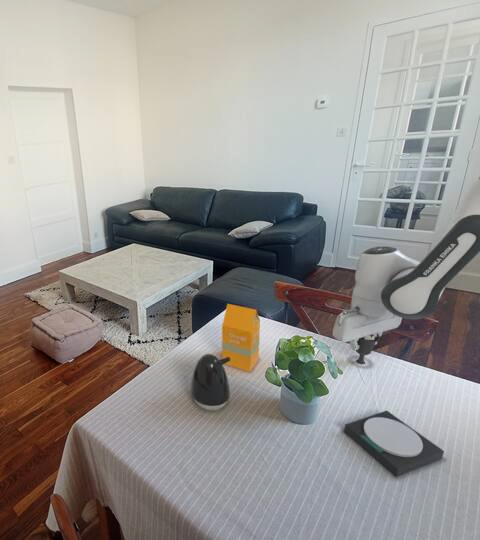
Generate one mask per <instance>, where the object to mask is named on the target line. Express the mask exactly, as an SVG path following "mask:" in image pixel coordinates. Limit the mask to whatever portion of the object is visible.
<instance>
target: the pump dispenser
mask: <svg viewBox="0 0 480 540" xmlns="http://www.w3.org/2000/svg"><path fill="white" fill-rule="evenodd" d="M229 361H230V357H226V358H223V359H222V358H220V359H219V358H218V357H217V356H216V355H214V354H212V353H206V354H203V355H202V356H200V357H199V359H198V361H197V362H196V364H195V367H194V369H193V372H192V375H191V380H190V394H191V396H192V398H193V400H194V402H195V404H196V405H197V406H199V408H201V409H203V410H206V411H213V412H214V411H218V410H220V409H222V408H223V407H225V406H226V404H227V402H228V401H229V399H230V397H231V388H230V382H229V376H228V375H227V371H226V369H225V367H224V365H226V364H225V363H227V362H229Z"/></svg>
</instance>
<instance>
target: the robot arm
mask: <svg viewBox="0 0 480 540" xmlns="http://www.w3.org/2000/svg"><path fill="white" fill-rule="evenodd" d="M478 254H480V176H478V178H477V179H475V181H474V182H473V183H472V185H471V186H470V187H469V188H468V190H467V191H466V193H465V194H464V195H463V197H462V199H461V200H460V202H459V204H458V206H457V208H456V210H455V212H454V214H453V216H452V218H451V219H450V222H449V224H448V226H447V229H446V230H445V233H444V234H443V235H442V237H441V238H440V240H439V241H438V242H437V244H436V245H435V246H434V247H433V248H432V249H431V250H430V251H429V252H428V253H427V254H426V255H425V257H424V258H422V260H420V261H419V260H417V259H413V258H412V257H410V256H407V255H405V254H404V253H403V252H401V251H400V250H399V249H398V248H397V247H393V246H375V247H370V248H368V249H366V250H365V251H363V252H362V253H361V254H360V256H359V257H358V261H357V265H356V269H355V275H354V280H355V286H354V287H353V289H352V294H351V295H352V296H351V301H350V308H348V309H344V310H342V312H340V314H338V315H337V317H336V319H335V320H334V321H335V322H334V324H333V329H332V336H333V337H334V338H335V339H336V340H337V341H339V342H341V343H348V342H349V343H350V344H349V348H350V349H351V350H352V351H355V352H356V350H358V349H360V348H359V347H360V344H358V343H357V341H358V339H359V338H362V337H366V336H369V335H372V334H378V335H379V336H380V337H381V336H382V335H383V333H384V332H387V331H392V330H394V329H397V328H398V327H399V326H400V325H401V324H402V320H403V319H405V320H411V321H413V320H422V319H425V318H427V317H429V316H431V315H433V314H434V312H435V311H436V309H437V307H438V305H439V301H440V299H441V297H442V295H443V293H444V291H445V289H446V286H447V285H448V284H449V283H450V282H451V281H452V280H453V279H454V278H455V277H456V276H457V275H458V274H459V273H460V272H461V271H462V270H463V269H464V268H465V267H467V265H468V264H469V263H470V262H471V261H473V260H474V259H475V257H476V256H477V255H478ZM376 345H378V341H377V342H375V345H374V346H376Z"/></svg>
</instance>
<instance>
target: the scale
mask: <svg viewBox="0 0 480 540" xmlns="http://www.w3.org/2000/svg"><path fill="white" fill-rule="evenodd" d="M343 433H344V434H346V435H347V436H348V437H349V438H350V439H351V440H352V441H353V442H355V443H356V444H357V445H358V446H359V447H361V449H362V450H364V451H365V452H366V453H367V454H369V456H370V457H372V458H373V459H374V460H375V461H376V462H378V463H379V464H380V465H381V466H382V467H383V468H385V469H386V470H387V471H388V472H389V473H390V474H391V475H393V476H394V477H395V478H397V477H400V476H403V475H405V474H408V473H410V472H412V471H415V470H418V469H420V468H423V467H425V466H428V465H430V464H433V463H436V462H438V461H440V460H442V459H443V456H444V454H445V450H443V449H442V448H440V447H439V446H438V445H436V444H435V443H433V442H432V441H430V440H429V439H428V438H426V437H425V436H423V435H422V434H421V433H419V432H418V431H417V430H415V429H414V428H413V427H410V425H408V424H407V423H405V422H404V421H402V420H401V419H400V418H399V417H397V416H395V415H394V414H392V413H391V412H390V411H388V410H384V411H381V412H378V413H375V414H372V415H369V416H366V417H364V418H363V417H362V418H360V419H358V420H354V421H352V422H349V423H346V424H344V429H343Z"/></svg>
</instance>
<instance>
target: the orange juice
mask: <svg viewBox="0 0 480 540" xmlns="http://www.w3.org/2000/svg"><path fill="white" fill-rule="evenodd" d="M260 331H261V319H260V316H259V313H258V311H257V309H255V308H251V307H246V306H241V305H236V304H231V303H227V304H226V308H225V312H224V316H223V322H222V325H221V352H222V353H221V357H222V358H221V359H223V358H226V357H230V361H229V362H227V363H225V364H224V365H228V366H231V367H233V368H237V369H239V370H243V371H246V372H252V370H253V368H254V366H256V363H257V362H258V360H259V354H260V353H259V352H260Z"/></svg>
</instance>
